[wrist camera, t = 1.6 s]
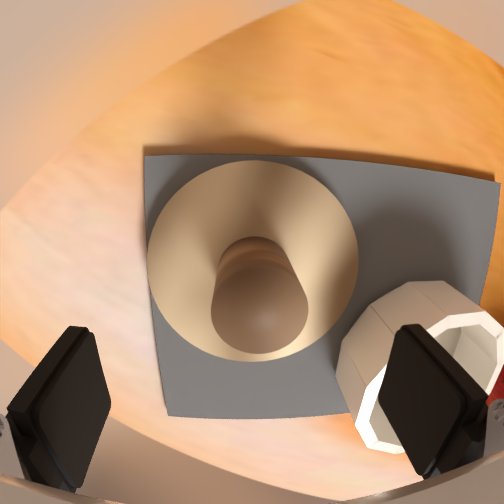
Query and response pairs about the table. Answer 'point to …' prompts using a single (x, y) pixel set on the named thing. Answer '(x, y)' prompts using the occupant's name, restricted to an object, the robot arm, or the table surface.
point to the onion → (497, 388)
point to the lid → (252, 261)
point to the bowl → (381, 340)
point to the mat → (366, 288)
